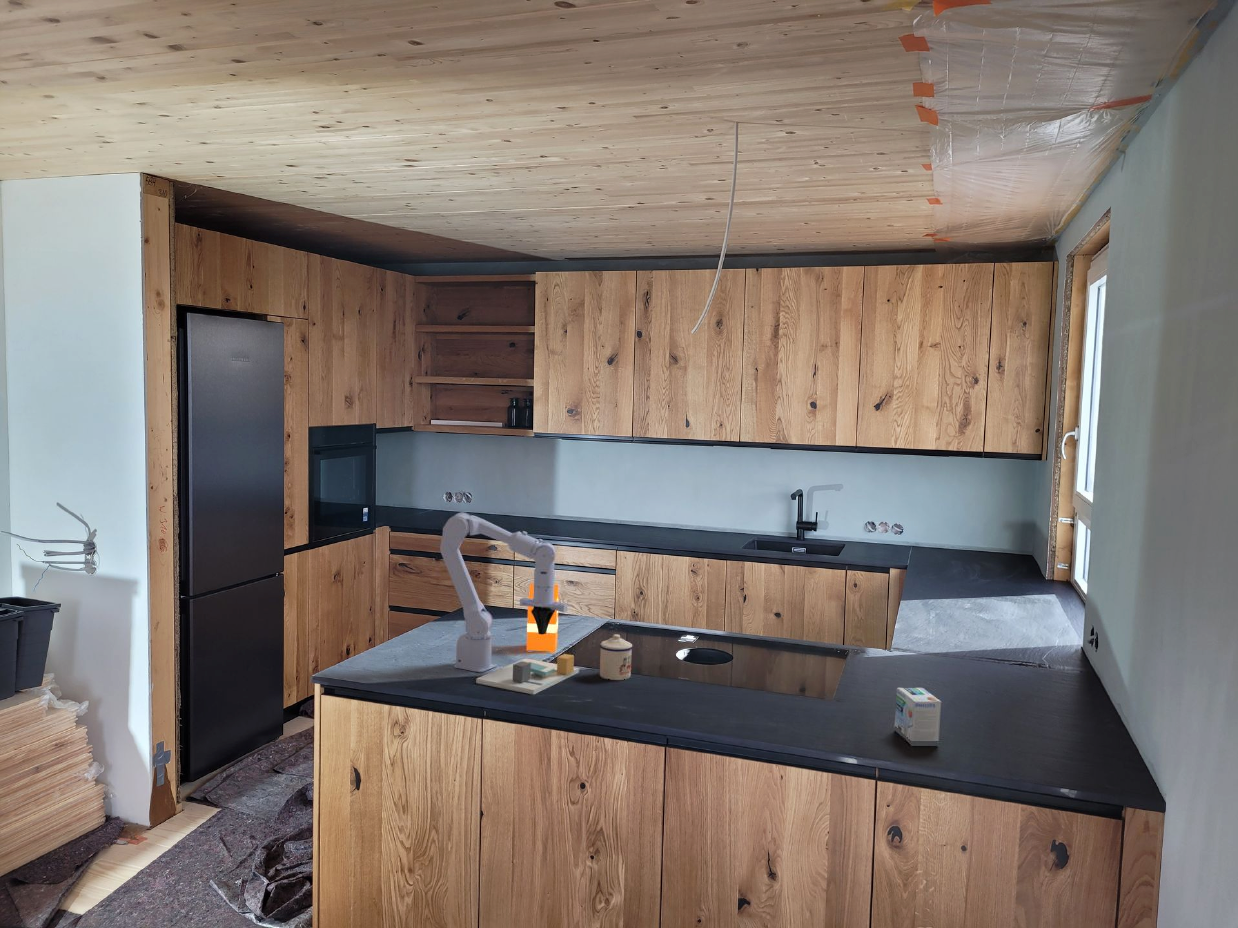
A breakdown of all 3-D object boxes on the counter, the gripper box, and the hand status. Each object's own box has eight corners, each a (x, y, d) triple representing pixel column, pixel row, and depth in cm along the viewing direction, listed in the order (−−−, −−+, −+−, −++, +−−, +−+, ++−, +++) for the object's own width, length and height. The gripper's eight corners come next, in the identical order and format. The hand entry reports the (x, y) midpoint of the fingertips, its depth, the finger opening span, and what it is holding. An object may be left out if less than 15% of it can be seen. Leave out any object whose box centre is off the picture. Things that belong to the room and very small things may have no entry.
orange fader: (556, 672, 252) (557, 656, 252) (564, 669, 256) (564, 653, 256) (566, 674, 251) (566, 658, 251) (573, 671, 255) (574, 655, 254)
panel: (476, 682, 245) (476, 675, 245) (524, 662, 266) (525, 655, 266) (533, 694, 237) (533, 686, 237) (578, 672, 258) (579, 664, 258)
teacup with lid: (624, 682, 250) (626, 640, 250) (593, 677, 254) (595, 636, 253) (639, 671, 261) (641, 631, 261) (609, 667, 265) (611, 627, 264)
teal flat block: (520, 668, 250) (521, 664, 249) (529, 665, 254) (529, 661, 253) (545, 676, 246) (546, 672, 246) (554, 672, 250) (554, 668, 250)
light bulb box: (893, 730, 220) (895, 686, 219) (920, 731, 220) (923, 686, 220) (911, 747, 209) (913, 700, 208) (939, 747, 210) (942, 701, 209)
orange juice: (555, 652, 279) (557, 587, 277) (526, 651, 279) (528, 586, 277) (557, 645, 286) (559, 582, 285) (529, 644, 286) (531, 581, 285)
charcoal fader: (512, 680, 243) (513, 664, 243) (520, 677, 247) (521, 661, 247) (522, 682, 242) (522, 666, 242) (530, 678, 246) (530, 662, 245)
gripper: (514, 585, 258) (512, 632, 258) (559, 591, 251) (557, 640, 252) (527, 581, 264) (526, 627, 265) (571, 587, 257) (570, 635, 258)
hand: (542, 633), depth 259 cm, fingers closed
